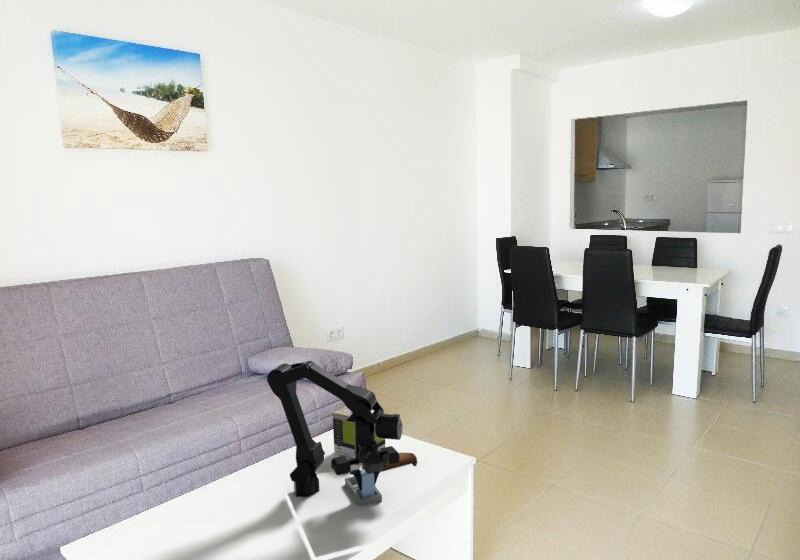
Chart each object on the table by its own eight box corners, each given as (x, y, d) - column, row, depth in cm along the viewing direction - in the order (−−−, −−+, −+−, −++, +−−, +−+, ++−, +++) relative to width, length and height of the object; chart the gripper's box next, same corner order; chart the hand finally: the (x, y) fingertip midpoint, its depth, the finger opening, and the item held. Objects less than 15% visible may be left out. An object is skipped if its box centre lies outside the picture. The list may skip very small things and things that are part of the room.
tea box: (386, 452, 195) (385, 410, 193) (368, 464, 187) (367, 421, 185) (351, 442, 204) (350, 402, 201) (333, 453, 195) (331, 411, 193)
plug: (363, 502, 162) (362, 475, 161) (359, 496, 165) (358, 470, 164) (374, 499, 163) (374, 473, 162) (370, 494, 166) (369, 468, 165)
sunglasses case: (405, 453, 194) (409, 441, 190) (414, 471, 189) (419, 459, 185) (355, 466, 185) (359, 454, 181) (363, 485, 181) (368, 472, 177)
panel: (357, 511, 160) (357, 501, 159) (342, 487, 172) (342, 478, 172) (384, 504, 163) (384, 494, 162) (368, 482, 175) (367, 473, 175)
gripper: (341, 454, 150) (343, 510, 153) (407, 441, 158) (408, 494, 160) (329, 438, 161) (331, 490, 163) (391, 426, 168) (393, 476, 170)
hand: (366, 488), depth 164 cm, fingers closed on plug, 3 cm apart
